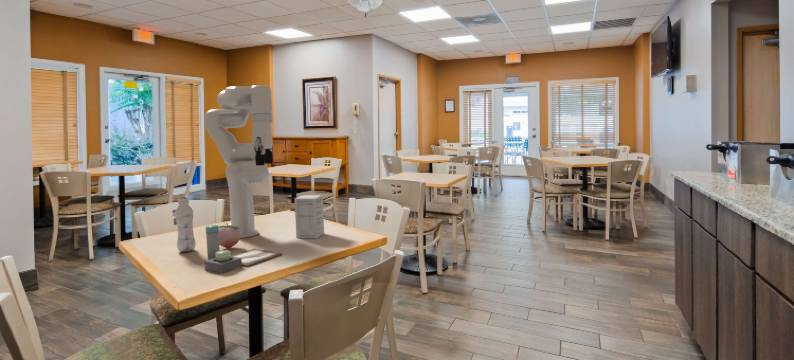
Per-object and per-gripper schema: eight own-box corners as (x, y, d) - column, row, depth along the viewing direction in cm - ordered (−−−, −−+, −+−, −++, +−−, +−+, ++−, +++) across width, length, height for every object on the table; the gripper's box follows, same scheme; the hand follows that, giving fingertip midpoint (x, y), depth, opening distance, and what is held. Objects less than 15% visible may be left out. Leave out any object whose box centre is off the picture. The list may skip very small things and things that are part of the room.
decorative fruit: (243, 245, 180) (241, 220, 178) (239, 250, 171) (238, 224, 170) (217, 246, 178) (216, 221, 177) (213, 252, 170) (211, 225, 169)
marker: (205, 260, 159) (202, 227, 157) (215, 257, 162) (212, 224, 161) (213, 262, 157) (210, 228, 155) (222, 259, 160) (220, 225, 159)
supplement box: (324, 233, 197) (323, 194, 195) (317, 238, 188) (316, 198, 186) (303, 232, 199) (302, 194, 197) (295, 238, 189) (293, 198, 187)
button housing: (205, 270, 148) (204, 261, 148) (225, 263, 155) (224, 254, 155) (221, 273, 144) (221, 264, 144) (241, 266, 151) (241, 258, 151)
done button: (213, 260, 149) (212, 252, 148) (224, 257, 152) (223, 249, 152) (222, 262, 146) (221, 254, 146) (233, 258, 150) (232, 251, 150)
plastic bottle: (177, 254, 167) (173, 200, 165) (177, 250, 173) (173, 198, 171) (196, 252, 170) (193, 199, 168) (195, 248, 176) (192, 196, 174)
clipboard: (218, 261, 158) (218, 258, 158) (254, 250, 171) (253, 247, 171) (247, 267, 151) (247, 264, 151) (281, 255, 165) (281, 252, 164)
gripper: (260, 119, 180) (262, 163, 182) (243, 118, 163) (246, 166, 165) (279, 119, 180) (281, 162, 182) (264, 118, 163) (267, 165, 165)
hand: (264, 164), depth 174 cm, fingers open, 9 cm apart
